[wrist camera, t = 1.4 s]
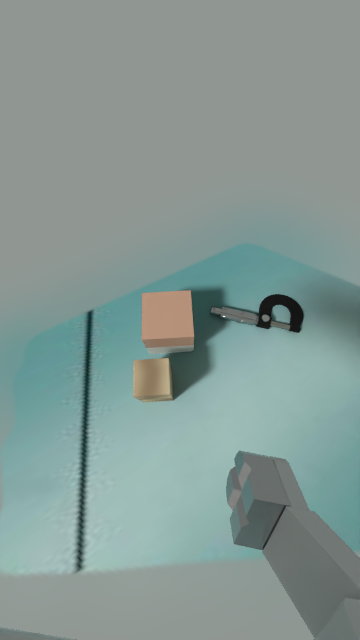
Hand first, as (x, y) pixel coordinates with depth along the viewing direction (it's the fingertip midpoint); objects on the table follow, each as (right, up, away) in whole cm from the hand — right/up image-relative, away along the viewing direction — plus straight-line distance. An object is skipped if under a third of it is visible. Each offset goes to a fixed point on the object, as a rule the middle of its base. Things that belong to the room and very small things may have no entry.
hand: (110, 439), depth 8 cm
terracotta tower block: (0, +3, +31) cm, 32 cm away
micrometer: (+15, +6, +37) cm, 40 cm away
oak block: (-1, -6, +32) cm, 32 cm away
